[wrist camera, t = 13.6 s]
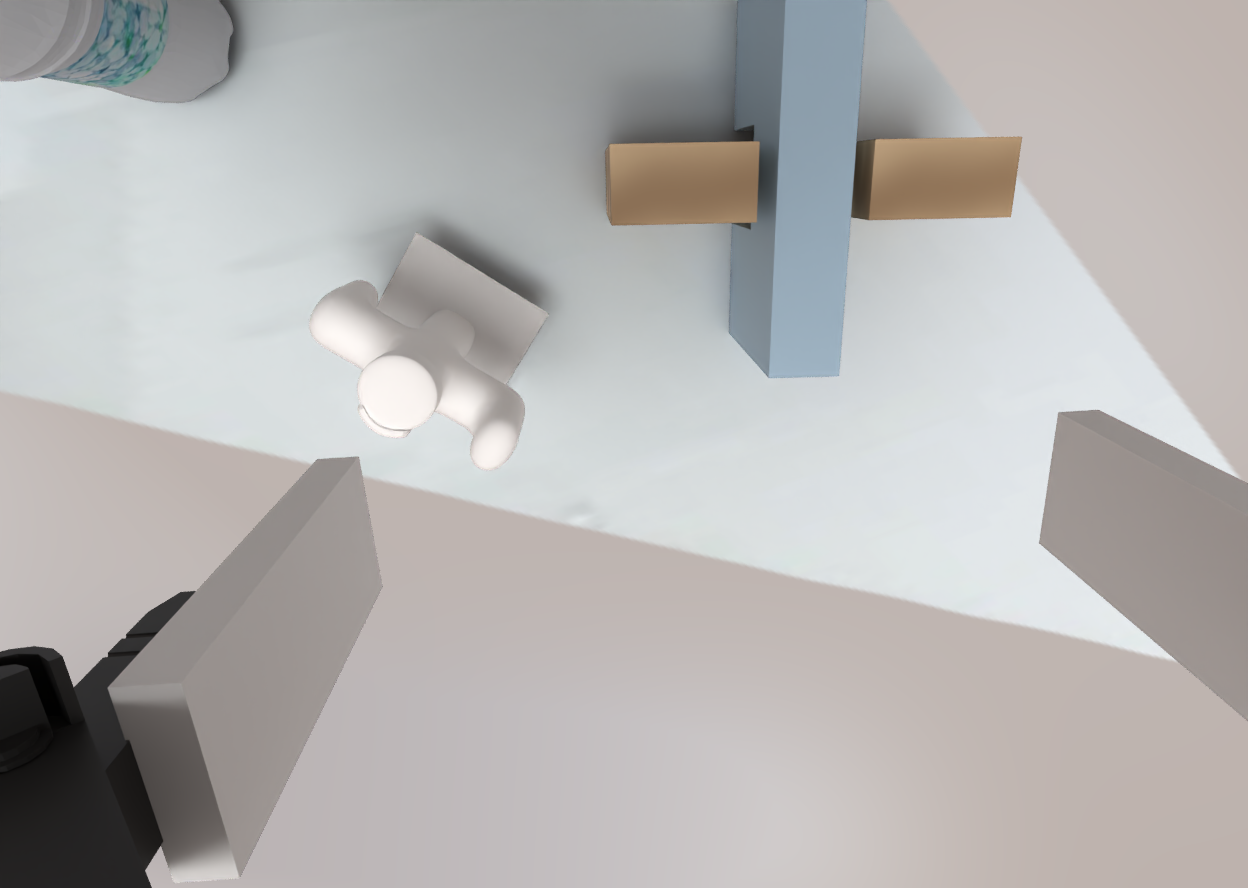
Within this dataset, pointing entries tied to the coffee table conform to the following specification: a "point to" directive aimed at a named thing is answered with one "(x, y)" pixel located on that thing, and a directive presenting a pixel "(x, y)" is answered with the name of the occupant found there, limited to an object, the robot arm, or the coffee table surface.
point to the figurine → (434, 348)
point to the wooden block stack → (882, 188)
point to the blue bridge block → (796, 180)
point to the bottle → (118, 45)
